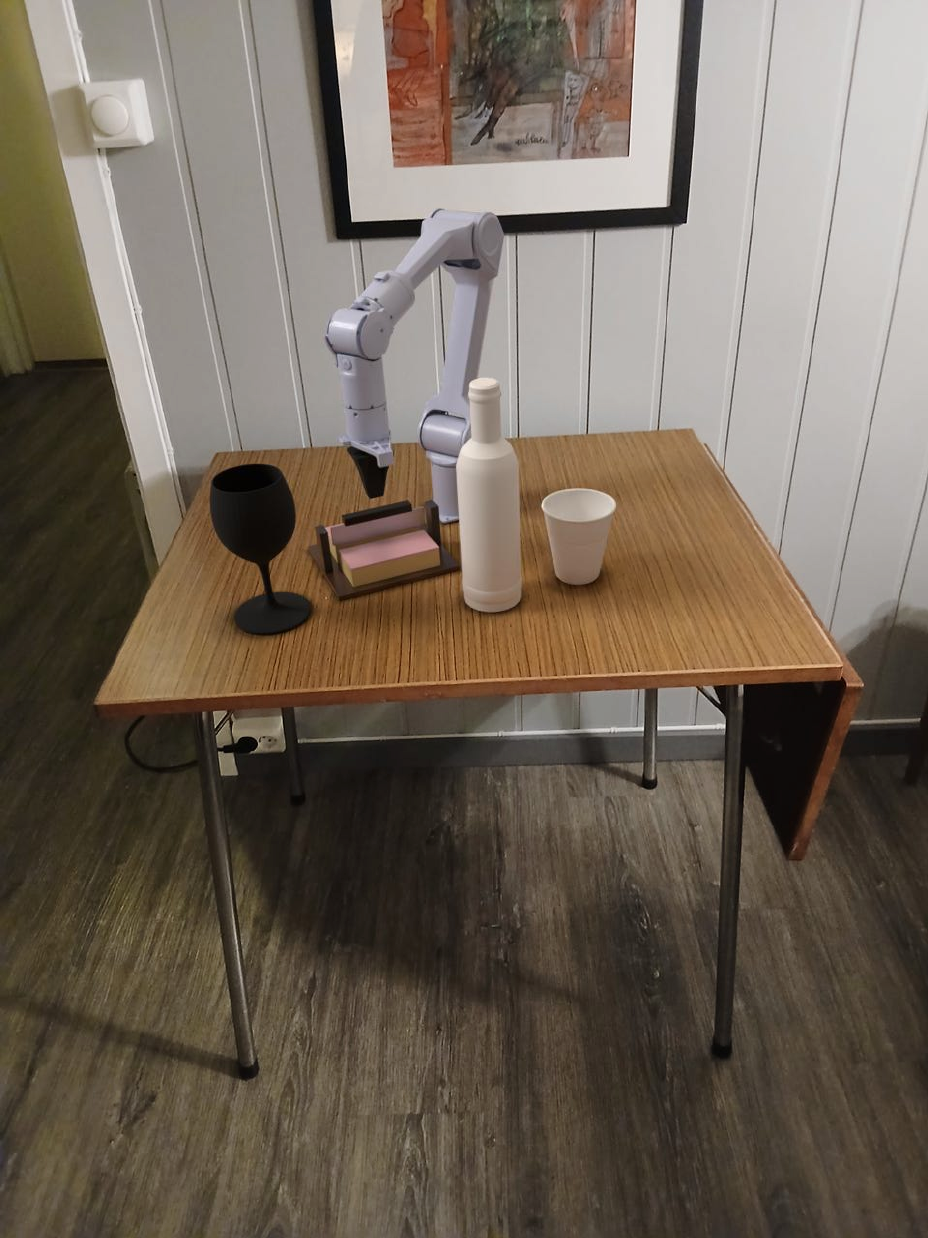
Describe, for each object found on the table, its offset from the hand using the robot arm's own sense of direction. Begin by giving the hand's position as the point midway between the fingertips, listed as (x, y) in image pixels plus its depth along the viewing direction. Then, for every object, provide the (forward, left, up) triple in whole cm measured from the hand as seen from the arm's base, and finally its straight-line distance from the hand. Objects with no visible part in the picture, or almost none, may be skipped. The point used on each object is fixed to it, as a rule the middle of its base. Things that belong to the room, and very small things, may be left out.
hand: (375, 495), depth 130 cm
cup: (-23, +17, -11) cm, 31 cm away
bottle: (-10, +17, -11) cm, 22 cm away
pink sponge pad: (0, 0, -10) cm, 10 cm away
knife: (0, 0, -6) cm, 6 cm away
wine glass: (+18, +7, -11) cm, 22 cm away
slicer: (0, 0, -10) cm, 10 cm away
